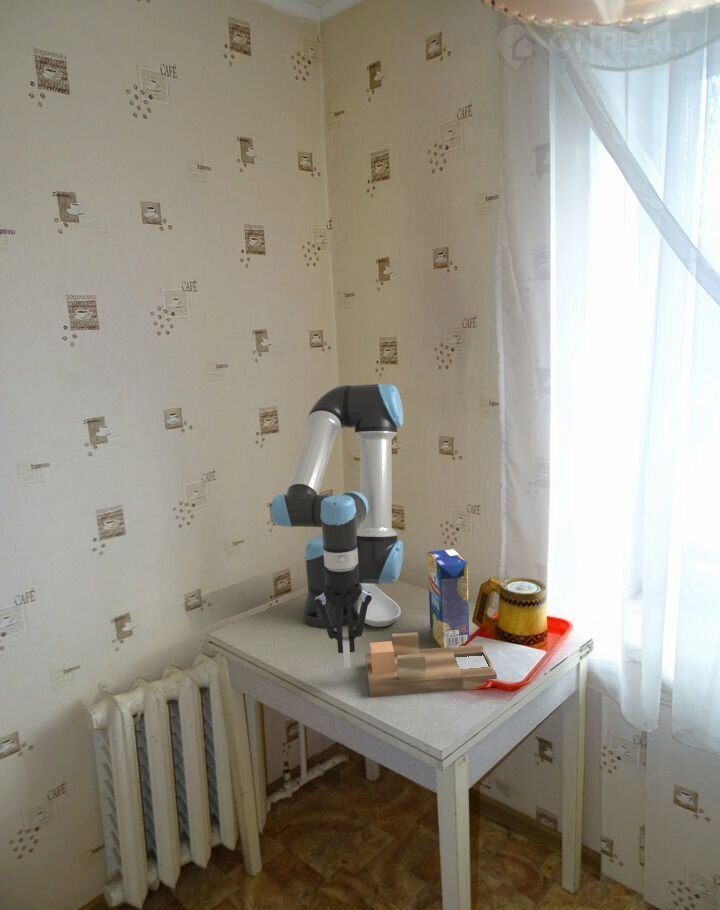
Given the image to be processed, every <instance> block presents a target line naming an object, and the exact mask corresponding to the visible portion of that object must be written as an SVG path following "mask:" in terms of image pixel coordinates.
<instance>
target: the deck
mask: <svg viewBox="0 0 720 910" xmlns="http://www.w3.org/2000/svg"><path fill="white" fill-rule="evenodd" d="M391 637H392V639H391V641H392V645H393V650H394V664H395V672H389V673H376V674H373V673H372V666H371V653H365V667H366V674H367V675H366V676H367V682H368V689H369V696H370V698H377V697H391V696H401V695H412V694H427V693H438V692H440V693H441V692H450V691H451V692H452V691H463V690H465V691H466V690H474V689H475V690H477V687H478V686H481V685H482V686H483V685H485V684H487V682H486V681H487V680H489V679H497V680H498V677H497V675H498V674H497V672H496V669H495V668H494V667H493V665H492V662H491V660H490V659H489V656H488V654H487V653H486V651H485V649H484V647H483V644H477V645H476V644H475V645H469V646H460V647H447V648H441V647H436V648H423V649H420V645H419V644H420V643H419V642H420V641H419V633H418V631H416V632H403V633H402V632H400V633H392V634H391ZM482 655H483V656H484V658H485V660H486V662H487V664H488V666H489V667H481V668H469V669H459V666H458V664H457V661H456V659H455V658H456V657H467V656H468V657H469V656H482Z"/></svg>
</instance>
